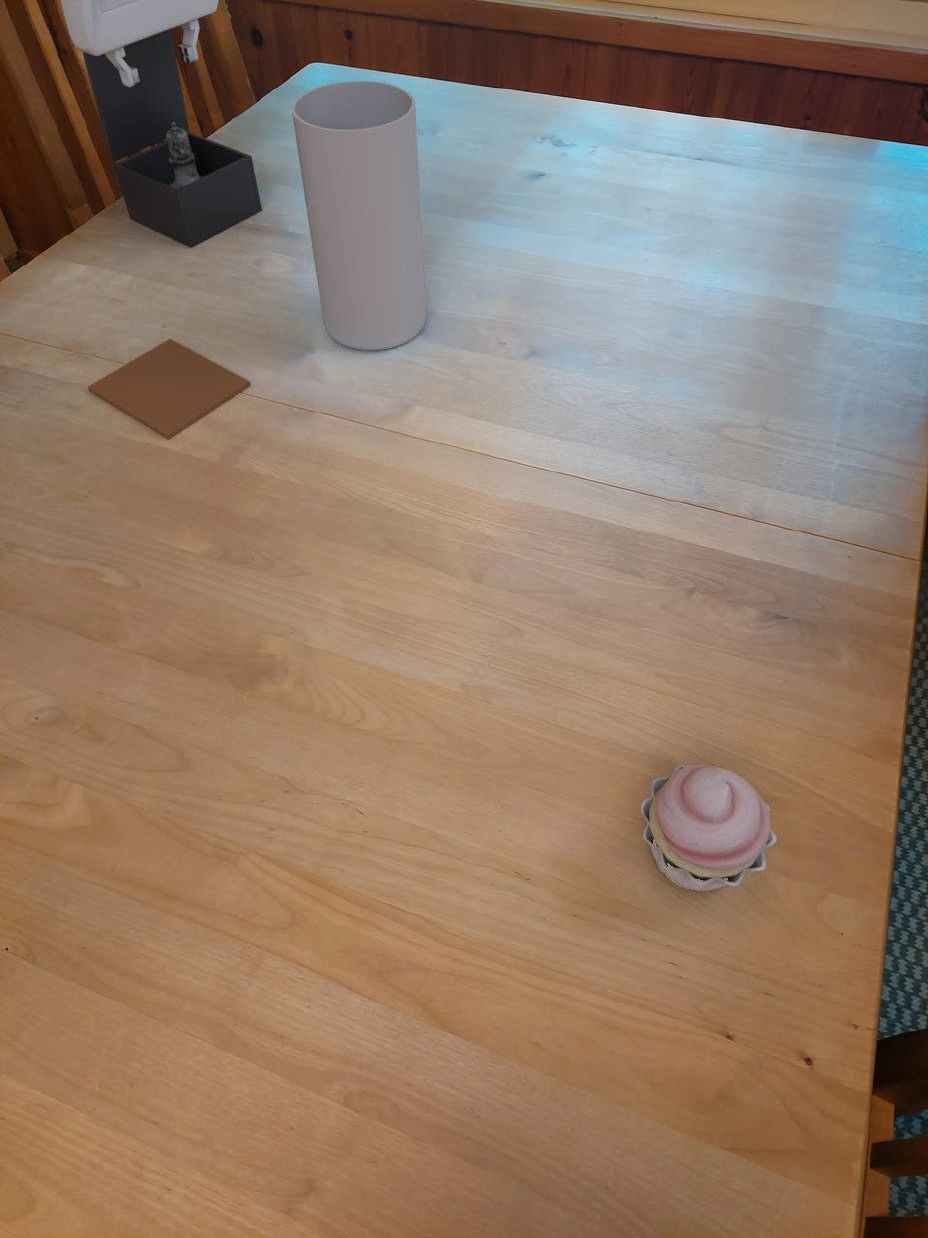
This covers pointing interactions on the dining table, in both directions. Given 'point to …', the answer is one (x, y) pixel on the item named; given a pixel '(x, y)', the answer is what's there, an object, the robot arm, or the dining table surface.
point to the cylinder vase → (363, 210)
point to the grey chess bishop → (181, 157)
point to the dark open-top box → (190, 191)
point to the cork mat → (169, 388)
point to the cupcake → (707, 827)
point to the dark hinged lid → (138, 95)
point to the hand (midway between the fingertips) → (161, 72)
